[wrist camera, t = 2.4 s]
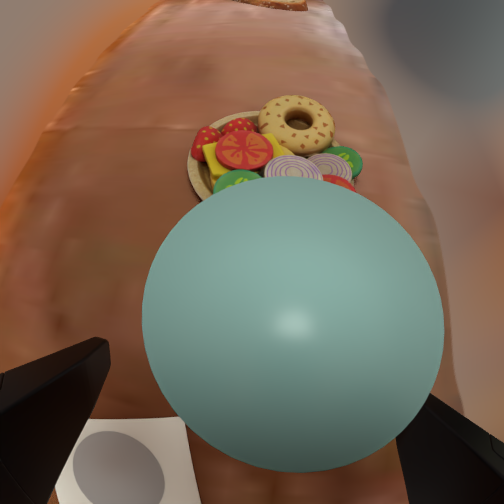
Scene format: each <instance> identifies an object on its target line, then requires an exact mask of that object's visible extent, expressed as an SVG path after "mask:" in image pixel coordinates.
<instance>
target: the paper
mask: <svg viewBox="0 0 504 504" xmlns="http://www.w3.org/2000/svg"><path fill="white" fill-rule="evenodd" d="M55 488H56V492H57V496H58V500H59V504H201V500H200V496H199V492H198V487H197V483H196V478H195V473H194V469H193V464H192V459H191V454H190V448H189V443H188V437H187V432H186V426H185V422H184V421H183V420H182V419H181V418H180V417H167V418H149V419H88V421H87V423H86V424H85V426H84V428H83V430H82V432H81V434H80V436H79V438H78V440H77V442H76V444H75V446H74V448H73V450H72V452H71V454H70V456H69V458H68V460H67V462H66V464H65V466H64V468H63V470H62V472H61V474H60V477H59V479H58V481H57V483H56V485H55Z"/></svg>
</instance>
